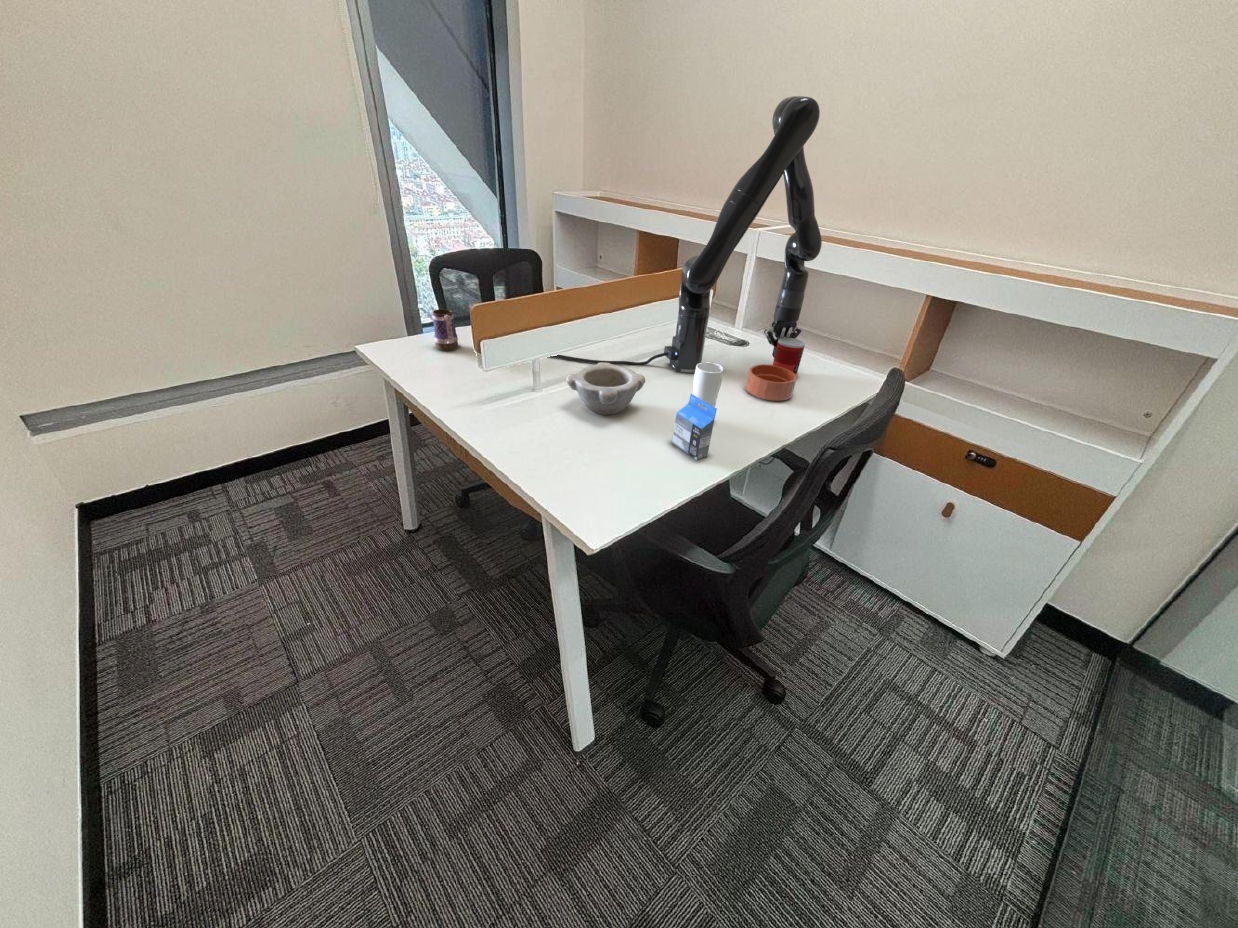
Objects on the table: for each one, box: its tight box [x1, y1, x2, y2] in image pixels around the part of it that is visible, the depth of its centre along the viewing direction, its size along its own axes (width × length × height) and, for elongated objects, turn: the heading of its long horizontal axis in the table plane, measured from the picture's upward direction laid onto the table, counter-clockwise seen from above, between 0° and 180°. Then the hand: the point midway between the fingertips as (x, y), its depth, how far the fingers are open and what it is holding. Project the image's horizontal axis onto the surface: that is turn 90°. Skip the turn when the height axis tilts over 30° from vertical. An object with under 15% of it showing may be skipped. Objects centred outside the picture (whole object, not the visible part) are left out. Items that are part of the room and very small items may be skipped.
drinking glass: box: [692, 361, 724, 410], centre depth 124 cm, size 7×7×15 cm
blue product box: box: [671, 393, 718, 461], centre depth 113 cm, size 9×4×12 cm, turn 35°
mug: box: [431, 308, 459, 352], centre depth 156 cm, size 10×7×12 cm
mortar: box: [565, 362, 646, 416], centre depth 130 cm, size 17×17×9 cm
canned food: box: [772, 338, 806, 376], centre depth 156 cm, size 8×8×11 cm
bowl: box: [745, 363, 798, 402], centre depth 145 cm, size 13×13×6 cm
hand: (776, 357), depth 161 cm, fingers closed
